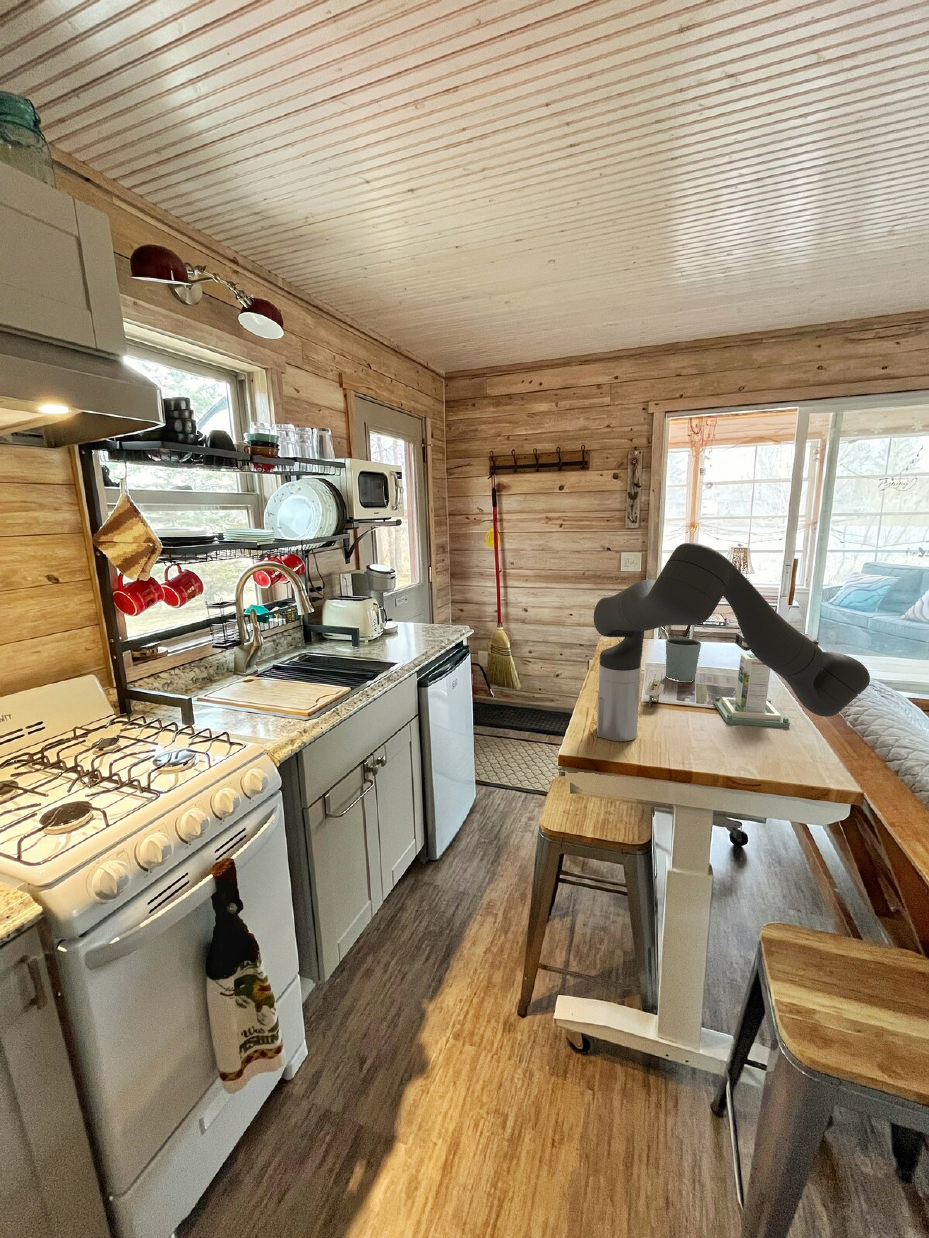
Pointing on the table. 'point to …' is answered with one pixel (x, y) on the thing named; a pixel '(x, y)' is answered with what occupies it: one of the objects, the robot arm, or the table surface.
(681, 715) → the table surface
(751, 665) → the syrup box
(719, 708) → the baseplate
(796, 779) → the table surface
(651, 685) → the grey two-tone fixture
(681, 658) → the grey-green cup
